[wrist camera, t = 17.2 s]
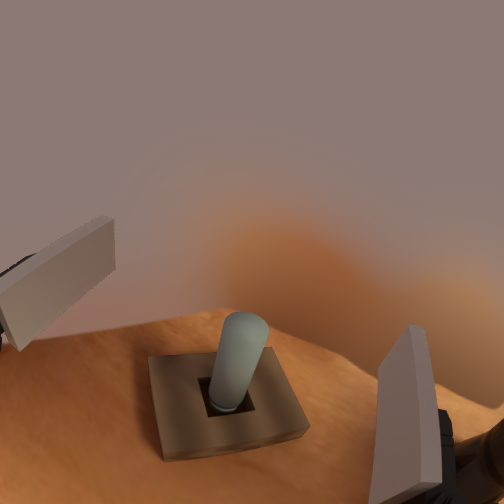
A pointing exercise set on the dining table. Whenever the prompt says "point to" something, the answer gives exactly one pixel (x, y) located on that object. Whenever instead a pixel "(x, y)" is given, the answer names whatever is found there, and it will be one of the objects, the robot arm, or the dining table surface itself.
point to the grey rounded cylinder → (236, 360)
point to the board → (228, 426)
